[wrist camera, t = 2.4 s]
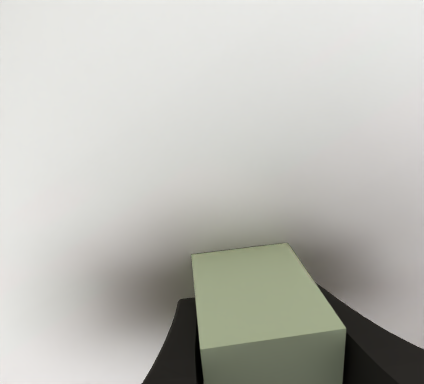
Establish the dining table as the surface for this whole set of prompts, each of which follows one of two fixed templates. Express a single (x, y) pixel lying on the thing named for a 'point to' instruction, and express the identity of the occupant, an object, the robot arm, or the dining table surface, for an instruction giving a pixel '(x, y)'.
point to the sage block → (264, 319)
